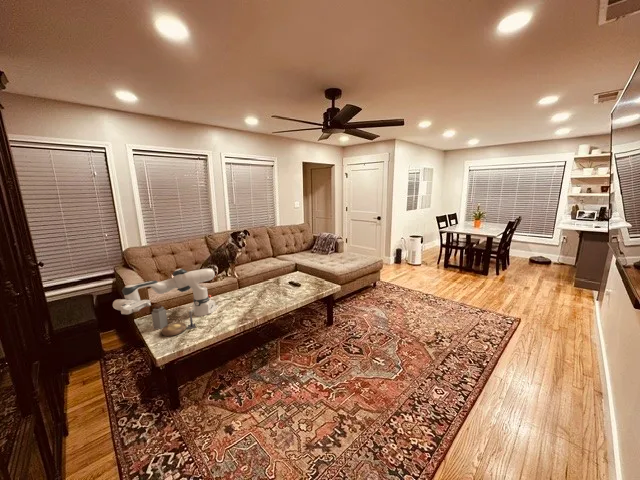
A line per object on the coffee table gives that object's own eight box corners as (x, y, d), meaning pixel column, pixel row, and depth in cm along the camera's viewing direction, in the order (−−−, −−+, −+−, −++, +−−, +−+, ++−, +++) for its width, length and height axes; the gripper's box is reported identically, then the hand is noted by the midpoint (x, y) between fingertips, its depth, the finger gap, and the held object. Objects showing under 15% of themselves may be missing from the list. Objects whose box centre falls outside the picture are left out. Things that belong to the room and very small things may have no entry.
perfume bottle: (167, 324, 208) (165, 303, 205) (160, 329, 201) (158, 307, 198) (160, 324, 209) (158, 303, 206) (153, 328, 203) (150, 306, 200)
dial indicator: (188, 326, 205) (186, 306, 202) (195, 324, 208) (193, 304, 205) (188, 329, 201) (186, 308, 198) (195, 327, 203) (193, 307, 200)
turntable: (173, 324, 208) (172, 321, 207) (190, 326, 204) (190, 322, 204) (157, 334, 192) (156, 331, 192) (175, 336, 189) (175, 333, 188)
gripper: (143, 304, 219) (156, 305, 216) (119, 315, 200) (133, 316, 196) (142, 297, 218) (155, 298, 215) (118, 307, 198) (132, 309, 195)
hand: (144, 307), depth 205 cm, fingers open, 8 cm apart
